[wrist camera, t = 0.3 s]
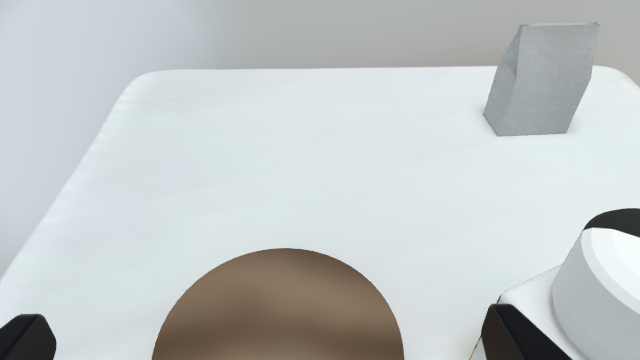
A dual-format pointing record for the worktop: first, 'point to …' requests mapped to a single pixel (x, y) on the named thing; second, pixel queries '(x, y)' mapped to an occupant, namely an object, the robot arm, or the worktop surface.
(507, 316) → the robot arm
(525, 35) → the gable top carton
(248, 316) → the walnut coaster
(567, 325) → the medicine bottle
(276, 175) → the worktop surface
